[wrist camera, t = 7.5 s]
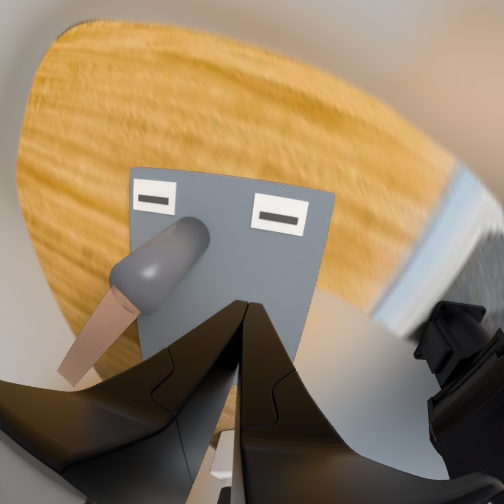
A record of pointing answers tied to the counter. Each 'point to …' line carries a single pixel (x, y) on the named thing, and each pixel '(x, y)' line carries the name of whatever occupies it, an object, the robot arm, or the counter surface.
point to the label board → (233, 249)
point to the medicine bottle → (224, 465)
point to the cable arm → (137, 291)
